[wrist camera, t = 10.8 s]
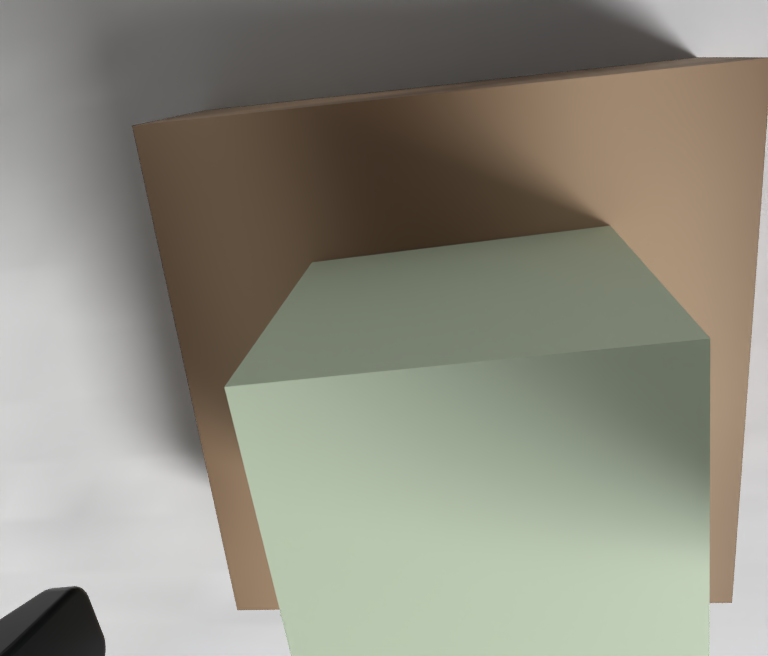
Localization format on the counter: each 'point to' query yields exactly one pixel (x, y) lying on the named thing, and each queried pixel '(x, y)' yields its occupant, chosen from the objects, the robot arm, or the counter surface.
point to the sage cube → (483, 453)
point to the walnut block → (461, 222)
